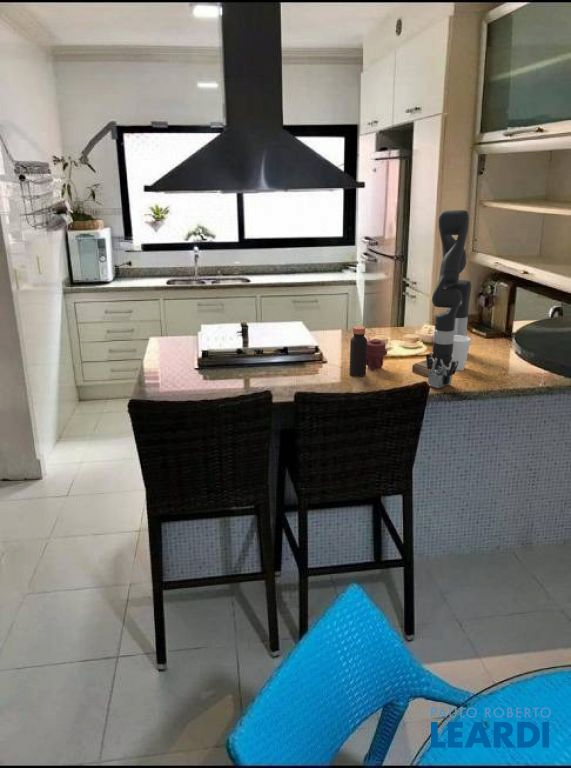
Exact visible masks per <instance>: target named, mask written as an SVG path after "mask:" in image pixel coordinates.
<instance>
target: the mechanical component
mask: <svg viewBox="0 0 571 768" xmlns="http://www.w3.org/2000/svg"><path fill="white" fill-rule="evenodd" d="M387 354H388V350H387V348H386V342H385V341H383V340H380V339H377V338H374V339H371V340H367V360H366V367H367V368H369V369H371V370H372V371H373V372H375V371H377V370H378V369H382V368H383V365H384V357H385V356H387Z"/></svg>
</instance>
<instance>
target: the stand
mask: <svg viewBox="0 0 571 768" xmlns="http://www.w3.org/2000/svg"><path fill="white" fill-rule="evenodd" d="M433 362H434V360H433ZM439 367H441V366H439ZM439 367H438V368H439ZM446 367H447V366H446ZM430 372H431V370H430V369H428V368H427V360H426V359H425V360H422V361H419V362H415V363H414V364H412V373H416V374H418V375H422V376H424V377H425V376H426V377H427V378H428V377H429V373H430Z"/></svg>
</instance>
